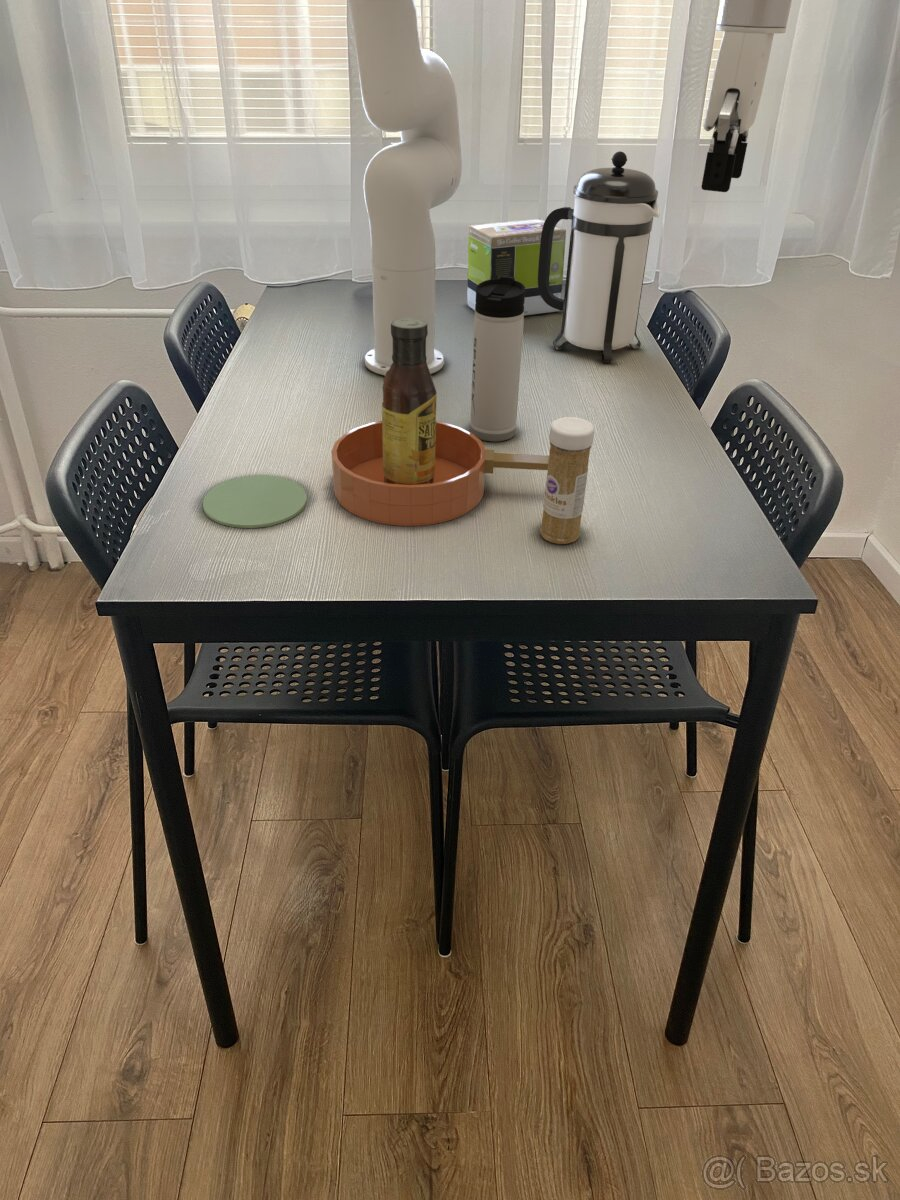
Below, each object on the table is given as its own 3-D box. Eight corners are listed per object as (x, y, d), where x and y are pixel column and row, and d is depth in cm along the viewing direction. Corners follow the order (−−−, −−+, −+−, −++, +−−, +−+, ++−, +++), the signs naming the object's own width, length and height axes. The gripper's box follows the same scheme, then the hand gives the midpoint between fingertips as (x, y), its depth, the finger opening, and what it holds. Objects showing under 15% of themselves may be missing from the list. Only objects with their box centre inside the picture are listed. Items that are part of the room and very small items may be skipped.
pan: (313, 469, 110) (310, 433, 107) (444, 444, 117) (444, 409, 114) (367, 539, 97) (366, 499, 94) (510, 506, 104) (513, 468, 101)
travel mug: (521, 426, 122) (532, 278, 111) (508, 445, 117) (518, 293, 106) (478, 419, 124) (485, 273, 112) (463, 437, 119) (469, 287, 107)
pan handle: (483, 473, 104) (483, 459, 103) (483, 462, 106) (484, 449, 105) (579, 478, 103) (581, 464, 102) (578, 467, 106) (580, 453, 104)
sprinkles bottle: (531, 535, 99) (542, 424, 91) (554, 520, 101) (566, 411, 94) (565, 550, 96) (579, 437, 88) (588, 534, 99) (603, 423, 91)
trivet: (192, 489, 105) (192, 486, 105) (289, 471, 110) (288, 468, 110) (217, 537, 97) (216, 534, 97) (321, 515, 101) (320, 512, 101)
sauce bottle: (428, 501, 104) (430, 335, 92) (377, 495, 105) (372, 330, 93) (440, 476, 109) (443, 316, 98) (391, 470, 110) (388, 311, 98)
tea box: (535, 297, 171) (541, 216, 162) (560, 313, 164) (569, 229, 155) (465, 305, 166) (467, 222, 157) (488, 322, 158) (492, 235, 150)
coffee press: (630, 332, 156) (657, 143, 138) (649, 365, 143) (681, 161, 125) (532, 330, 155) (547, 141, 138) (543, 363, 142) (561, 158, 125)
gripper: (730, 12, 105) (702, 169, 115) (705, 16, 92) (676, 193, 102) (795, 15, 103) (761, 175, 113) (779, 20, 90) (742, 200, 100)
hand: (721, 183), depth 108 cm, fingers open, 9 cm apart
